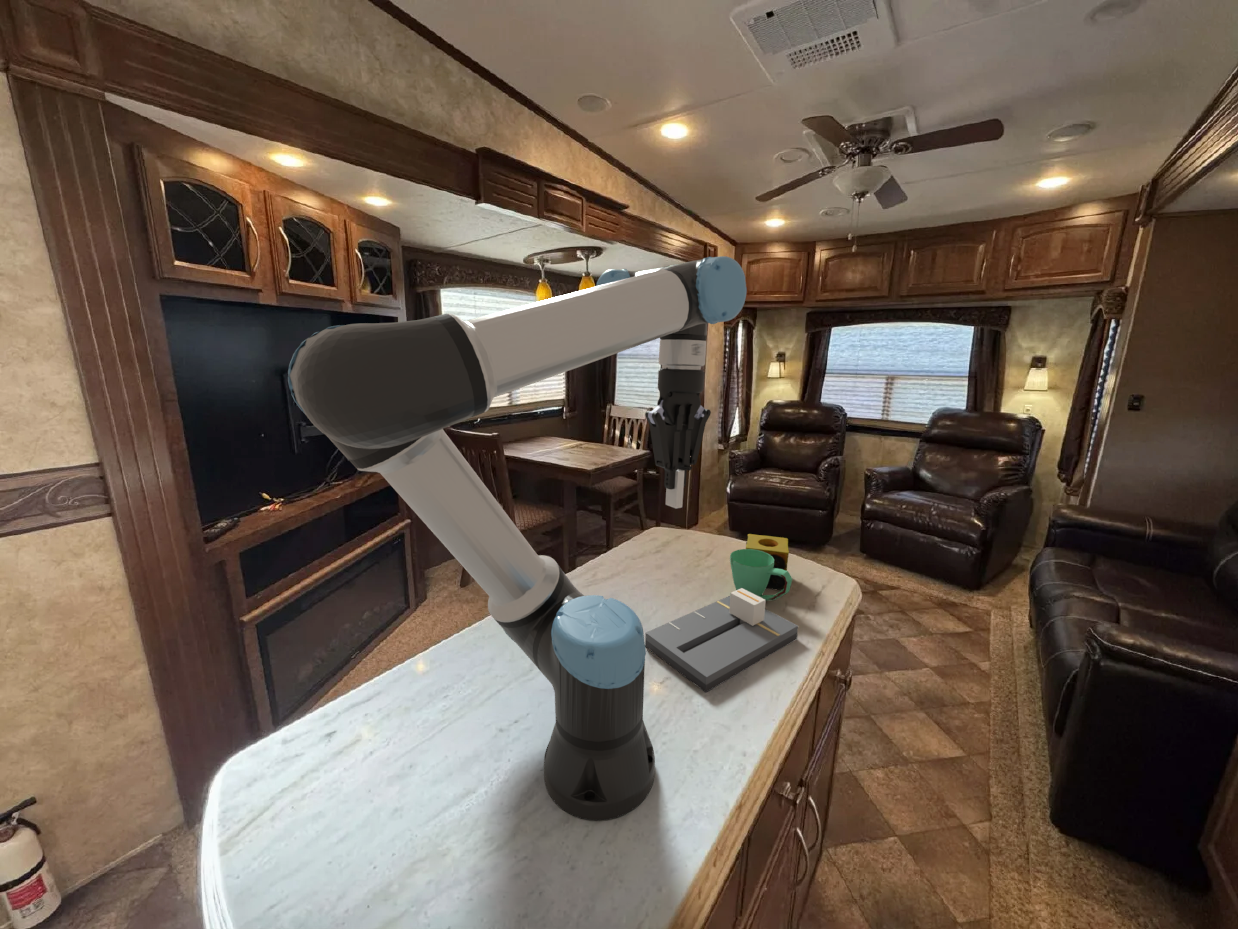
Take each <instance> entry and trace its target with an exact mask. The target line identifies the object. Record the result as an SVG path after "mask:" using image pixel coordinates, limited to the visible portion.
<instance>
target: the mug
mask: <svg viewBox="0 0 1238 929" xmlns="http://www.w3.org/2000/svg"><path fill="white" fill-rule="evenodd" d="M729 555H730V556H729V563H730V567H731V568H730V569H731V575H732V579H733V580H732V581H733V585H734V587H735V591H736V590H738V589H741V588H743V589H745V590H747V591H749V592H751V593H753V594H755V595H757V596H759V597H761V598H763V599H765V600H766V602H768V601H771V602H773V601H775V600H777V599H780V598H781V597H783V596H784V595H786V594H788V593H790V589H791V586H792V583H793V577H792V575H791V573H790V572H789V571H788V570H787V571H785V570H783V569H777V568H773V567H774V558H773V557H772V556H771V555H769V554H768V553H765V552H763V551H759V550H753V549H746V548H742V549H741V548H740V549H736V550H733V551H732V552H731V553H730V554H729ZM770 575H778V576H781V577H783V578H784V580H785V587H784V589H783V590H779V591H778V592H776V593H775V594H764V593H765V591H766V587H767V584H768V582H769V578H770Z"/></svg>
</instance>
